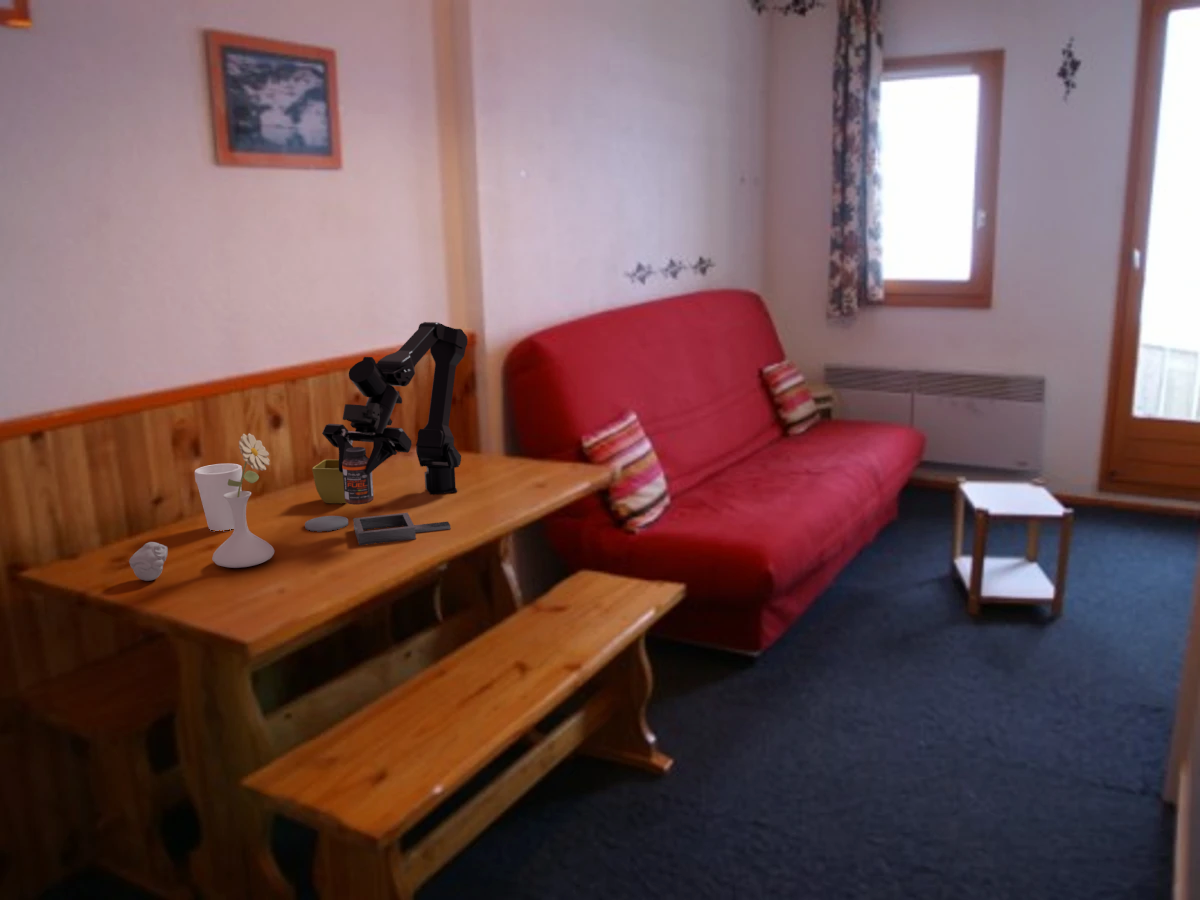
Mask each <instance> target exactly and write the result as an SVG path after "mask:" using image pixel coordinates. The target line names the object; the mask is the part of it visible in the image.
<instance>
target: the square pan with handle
mask: <svg viewBox="0 0 1200 900" xmlns="http://www.w3.org/2000/svg"><path fill="white" fill-rule="evenodd" d="M352 519H353V529H354V530H355V531H354V532H355V533H354V534H355V537H356V540H357V544H358V543H359V544H358V546H367V545H366V544H368V545H375V544H374V543H377V544H383V542H385V543H391V542H392V543H395V542H400V541H401V542H403V541H410V540H416V539H417V535H416V534H417V533H419V534H420V533H427V532H436V531H445V530H451V524H450V522H449V521H441V522H430V523H422V524H414V522H413V521H412V519H411V517H410V515H409V513H408V512H399V513H393V514H383V515H382V514H381V515H374V516H373V515H372V516H363V517H353V518H352ZM387 527H389V528H387ZM374 528H380V529H374ZM367 529H370V530H367Z"/></svg>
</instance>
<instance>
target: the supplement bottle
mask: <svg viewBox="0 0 1200 900" xmlns="http://www.w3.org/2000/svg"><path fill="white" fill-rule="evenodd" d="M346 456H347V457H346V459H345V460H343V462H342V469H343V482H344V496H345V501H346V502H347V503H346V504H349V505H358V506H359V505H366V504H368V503H371V502H373V501H374V497H375V496H374V483H373V471H372V472H371V473H370V474H369V475H367V474H366V473H365V469H366V465H367V463H368V460H369V458H370V457H368V456H367V452H366V447H363V446H353V447H352V448H348V449H346Z"/></svg>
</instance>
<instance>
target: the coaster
mask: <svg viewBox="0 0 1200 900" xmlns="http://www.w3.org/2000/svg"><path fill="white" fill-rule="evenodd" d="M348 525H349V519H348V518H347V517H345V516H340V515H324V516H323V515H322V516H319V517H318V516H317V517H314V518H312V519H308V520H307V521H305V523H304V527H305V530H307V531H309V530H310V532H314V531H317V532H316V533H323V532H322V531H327V532H333V531H332V530H334V531H338V530H341V529H340V528H342V529H344V528H346V527H348ZM345 526H346V527H345ZM343 527H344V528H343ZM337 529H338V530H337Z"/></svg>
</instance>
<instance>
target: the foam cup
mask: <svg viewBox="0 0 1200 900" xmlns="http://www.w3.org/2000/svg"><path fill="white" fill-rule="evenodd" d="M242 473H243V468H242V465H240V464H237V463H216V464H210V465H205V466H200V467H198V468H196V469H195V470H194V479H195V480H194V481H195V483H196V485H197V488H198V492H199V493H198V494H199V496H200V499H201V504H202V507H203V511H204V515H205V520H206V523H207V526H208V527H207V528H208V530H209V529H210V530H209V531H211V530H215V531H219V530H220V531H222V530H223V532H225V531H224V530H229V529H230V531H232V530H231V529H234V518H233V513H232V509H231V506H230V504H229V502H228V501H227V500H226V499H225V498H224V495H225V494H226V493H229V492H234V491H238V489H239V486H238V487H236V486H229V485H228V480H229V479H231V480H233V481H237V482H240V481H241V477H242ZM240 491H242V488H241V489H240ZM215 531H214V532H215Z"/></svg>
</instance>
